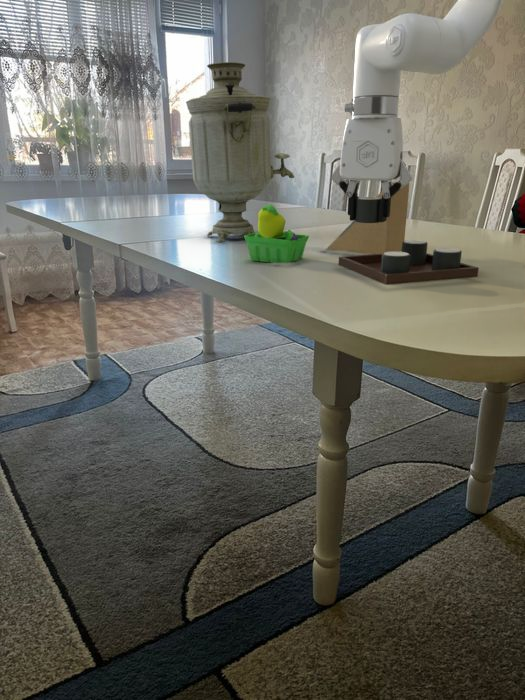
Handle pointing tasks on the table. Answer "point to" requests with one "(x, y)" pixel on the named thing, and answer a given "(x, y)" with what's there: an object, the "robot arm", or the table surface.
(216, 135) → the samovar
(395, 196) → the sandwich container
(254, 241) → the fruit basket
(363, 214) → the maki roll
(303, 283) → the table surface
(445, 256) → the corner roll
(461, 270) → the tray
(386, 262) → the corner roll
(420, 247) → the corner roll
